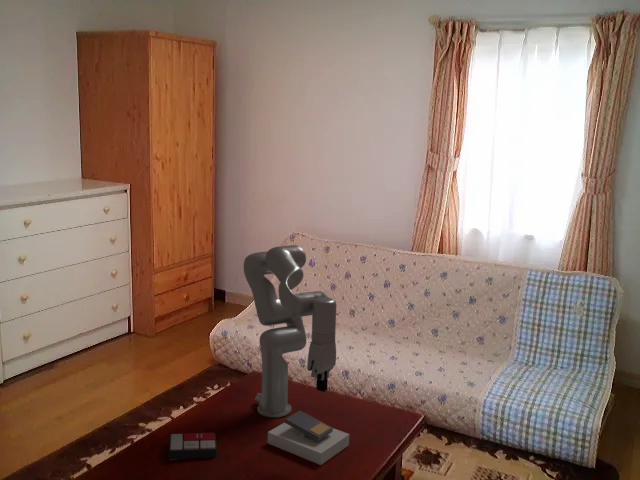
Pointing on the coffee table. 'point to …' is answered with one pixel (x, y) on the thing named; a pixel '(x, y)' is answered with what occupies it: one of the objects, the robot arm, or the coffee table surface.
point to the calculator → (192, 445)
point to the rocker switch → (308, 425)
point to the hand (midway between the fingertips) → (321, 390)
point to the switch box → (308, 443)
